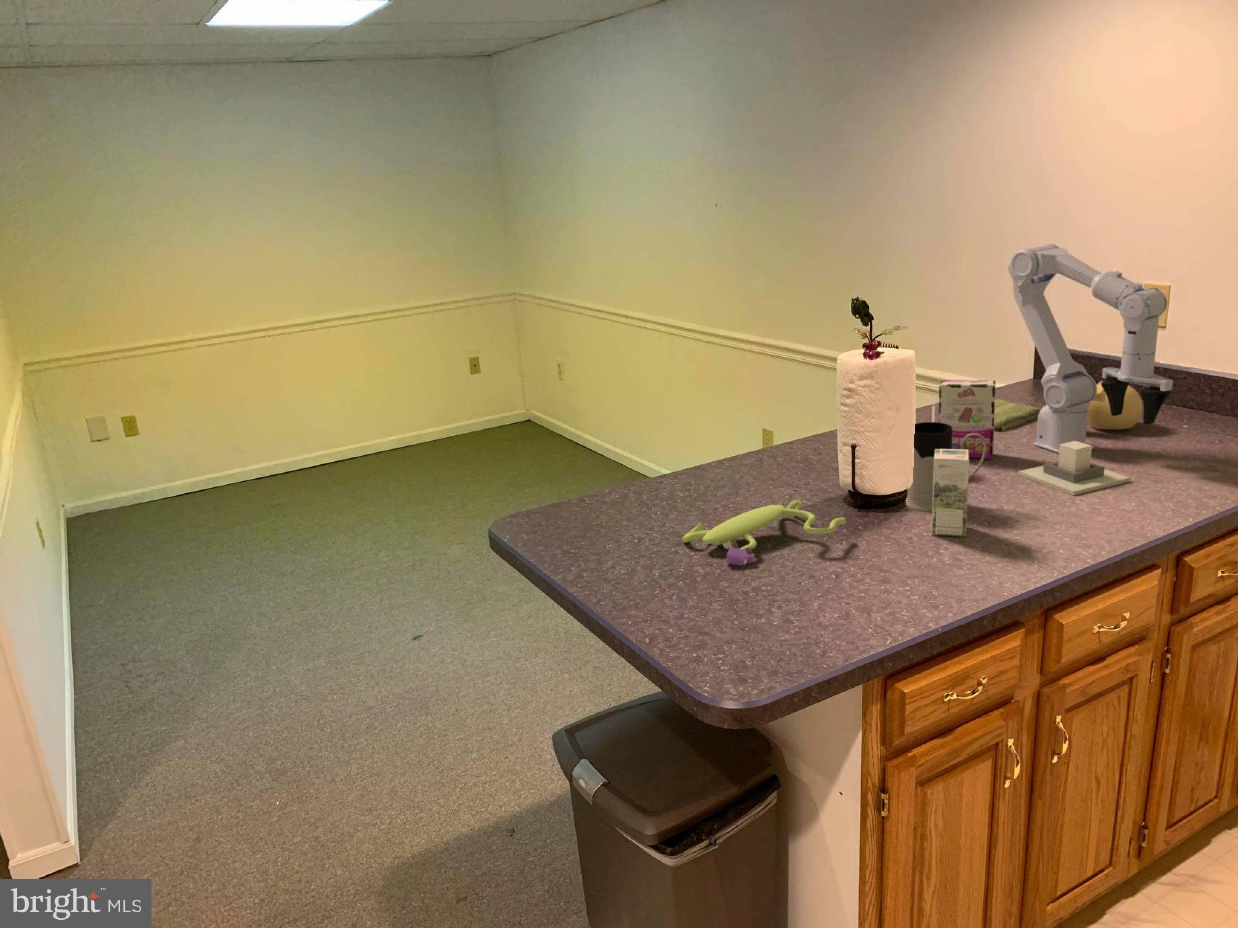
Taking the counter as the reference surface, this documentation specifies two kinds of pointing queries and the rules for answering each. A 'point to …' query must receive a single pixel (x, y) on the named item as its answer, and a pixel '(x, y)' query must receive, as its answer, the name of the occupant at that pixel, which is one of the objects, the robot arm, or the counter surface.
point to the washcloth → (1012, 414)
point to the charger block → (1074, 456)
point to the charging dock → (1074, 478)
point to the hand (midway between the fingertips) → (1132, 419)
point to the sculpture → (1101, 411)
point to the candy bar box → (969, 414)
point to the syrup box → (950, 492)
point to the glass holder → (930, 461)
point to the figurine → (748, 524)
